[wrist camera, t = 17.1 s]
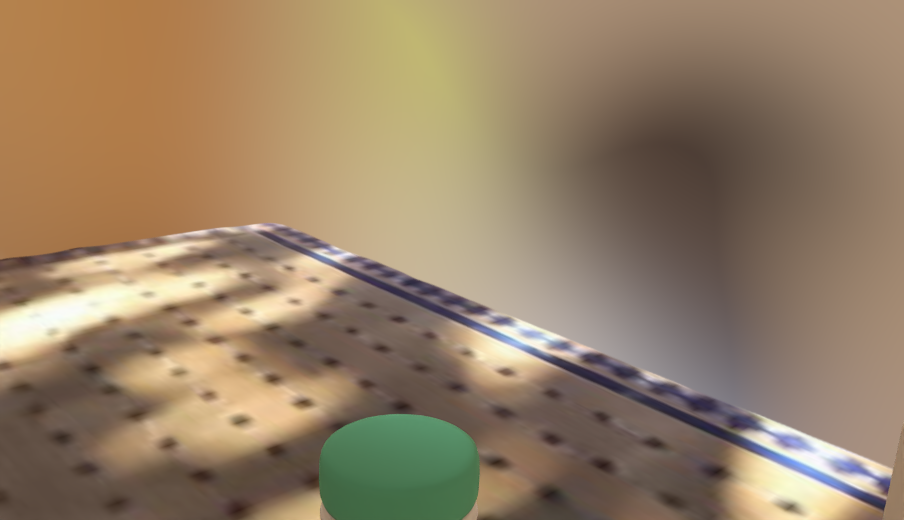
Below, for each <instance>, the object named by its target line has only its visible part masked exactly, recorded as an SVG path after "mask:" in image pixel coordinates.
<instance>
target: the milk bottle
mask: <svg viewBox="0 0 904 520" xmlns="http://www.w3.org/2000/svg"><path fill="white" fill-rule="evenodd" d="M479 475H480V472H479V455H478V451H477V447H476V445H475V443H474V441H473V440H472V438H471V437H470V436H469V435H468V434H466V433H465V432H464V431H462V430H461V429H459V428H458V427H456V426H454V425H452V424H450V423H448V422H445V421H442V420H439V419H436V418H432V417H427V416H420V415H410V414H391V415H381V416H374V417H369V418H365V419H361V420H358V421H355V422H353V423H350V424H348V425H346V426H344V427H342V428H341V429H339V430H338V431H336V432H335V433H333V434H332V435H331V436H330V437H329V438H328V439H327V440H326V442H325V444H324V446H323V448H322V452H321V455H320V465H319V485H320V496H321V499H322V504H321V508H320V517H321V520H476V519H477V515H478V506H477V503H476V499H477V496H478V488H479Z"/></svg>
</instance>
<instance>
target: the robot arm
mask: <svg viewBox="0 0 904 520" xmlns="http://www.w3.org/2000/svg"><path fill="white" fill-rule="evenodd" d="M883 520H904V423H903V427H902V432H901V436H900V441H899V446H898V450H897V455H896V459H895V464H894V469H893V473H892V478H891V483H890V487H889V492H888V497H887V501H886V506H885V511H884V515H883Z"/></svg>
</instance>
